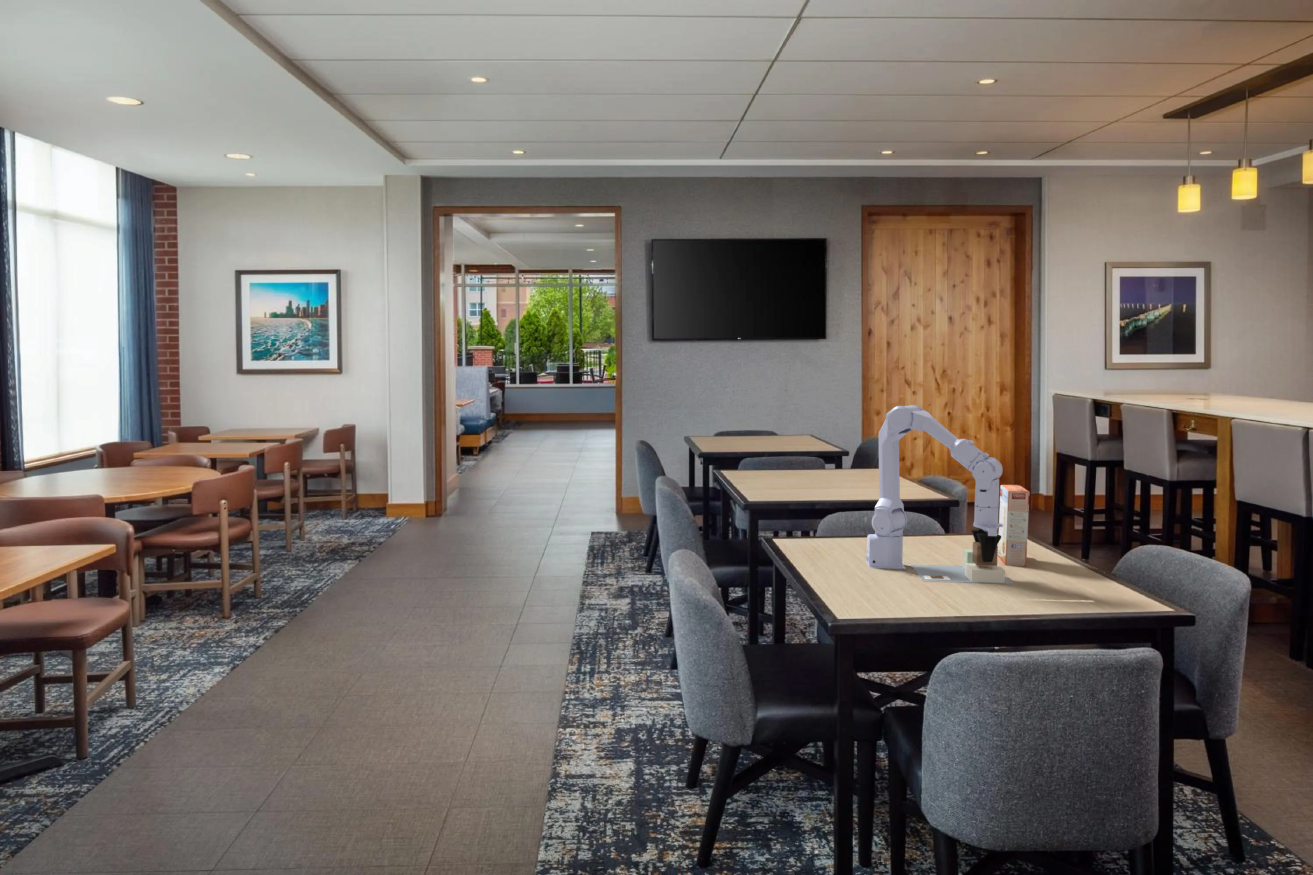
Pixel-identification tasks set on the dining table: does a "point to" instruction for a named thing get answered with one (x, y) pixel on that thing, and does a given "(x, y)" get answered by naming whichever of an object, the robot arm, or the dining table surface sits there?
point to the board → (946, 574)
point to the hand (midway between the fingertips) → (984, 559)
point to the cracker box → (1013, 525)
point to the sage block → (967, 556)
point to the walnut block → (978, 556)
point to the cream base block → (984, 573)
